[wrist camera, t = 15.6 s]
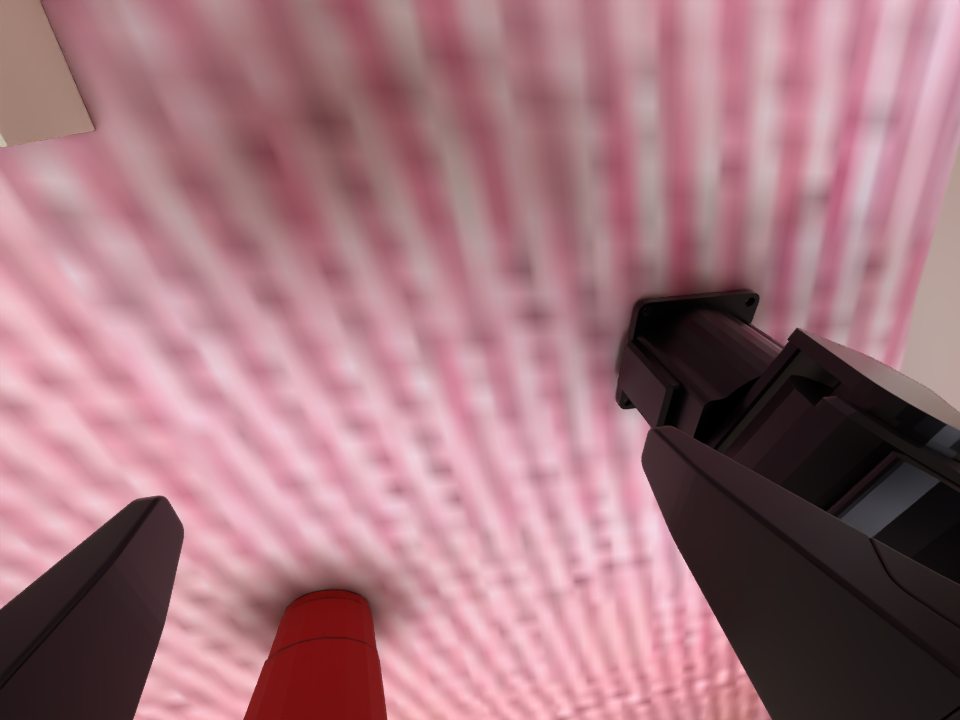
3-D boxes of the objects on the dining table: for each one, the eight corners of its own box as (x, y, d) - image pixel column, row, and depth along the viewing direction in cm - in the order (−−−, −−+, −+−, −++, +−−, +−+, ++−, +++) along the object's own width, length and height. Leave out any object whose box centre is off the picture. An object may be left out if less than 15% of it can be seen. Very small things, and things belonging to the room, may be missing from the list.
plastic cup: (205, 596, 27) (104, 891, 18) (375, 547, 28) (370, 808, 18) (282, 668, 34) (240, 918, 24) (421, 628, 34) (436, 856, 24)
